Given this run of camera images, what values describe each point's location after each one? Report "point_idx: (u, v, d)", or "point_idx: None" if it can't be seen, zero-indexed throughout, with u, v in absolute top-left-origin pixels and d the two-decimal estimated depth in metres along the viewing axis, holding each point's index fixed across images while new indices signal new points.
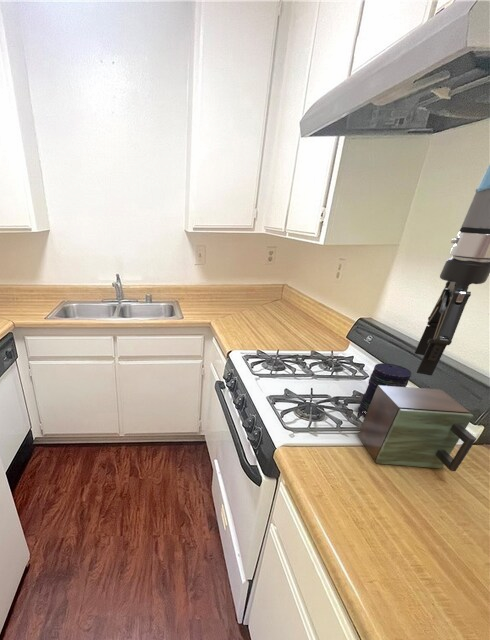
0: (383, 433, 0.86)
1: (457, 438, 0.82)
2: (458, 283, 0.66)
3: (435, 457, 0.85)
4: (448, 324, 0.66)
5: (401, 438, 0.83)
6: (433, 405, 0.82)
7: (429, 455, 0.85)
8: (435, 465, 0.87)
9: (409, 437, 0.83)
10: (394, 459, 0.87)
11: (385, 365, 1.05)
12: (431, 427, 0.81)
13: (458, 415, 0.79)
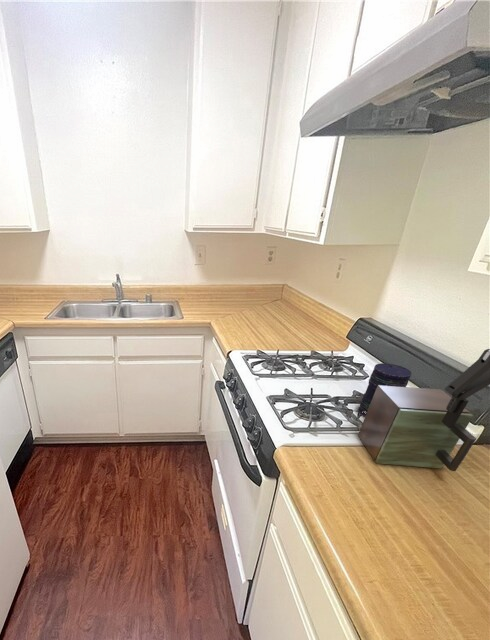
0: (383, 433, 0.86)
1: (457, 438, 0.82)
2: None
3: (435, 457, 0.85)
4: (462, 377, 0.68)
5: (401, 438, 0.83)
6: (433, 405, 0.82)
7: (429, 455, 0.85)
8: (435, 465, 0.87)
9: (409, 437, 0.83)
10: (394, 459, 0.87)
11: (385, 365, 1.05)
12: (431, 427, 0.81)
13: None
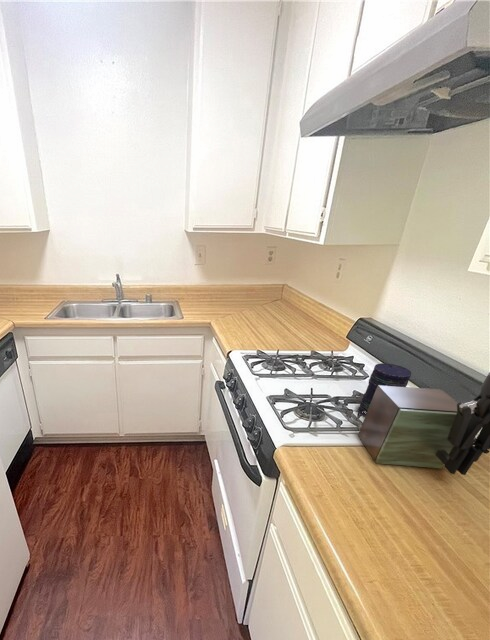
0: (383, 433, 0.86)
1: None
2: (481, 391, 0.69)
3: (435, 457, 0.85)
4: (454, 429, 0.74)
5: (401, 438, 0.83)
6: (433, 405, 0.82)
7: (429, 455, 0.85)
8: (435, 465, 0.87)
9: (409, 437, 0.83)
10: (394, 459, 0.87)
11: (385, 365, 1.05)
12: (431, 427, 0.81)
13: None
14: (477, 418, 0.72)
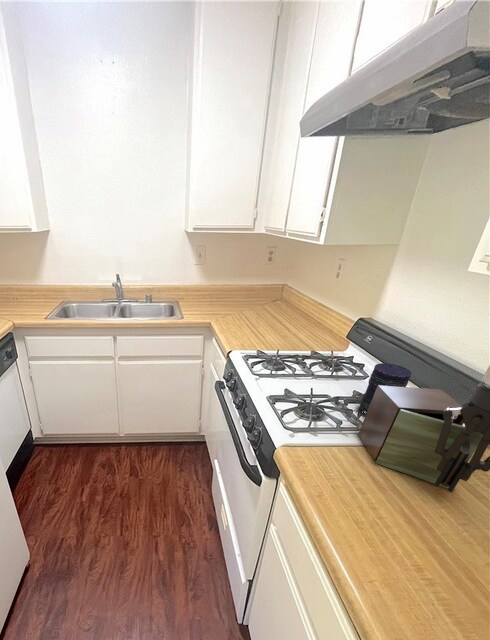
0: (383, 433, 0.86)
1: None
2: None
3: None
4: None
5: (401, 441, 0.82)
6: (433, 405, 0.82)
7: (434, 469, 0.81)
8: None
9: (410, 442, 0.81)
10: (394, 463, 0.85)
11: (385, 365, 1.05)
12: (434, 436, 0.78)
13: None
14: (464, 428, 0.68)
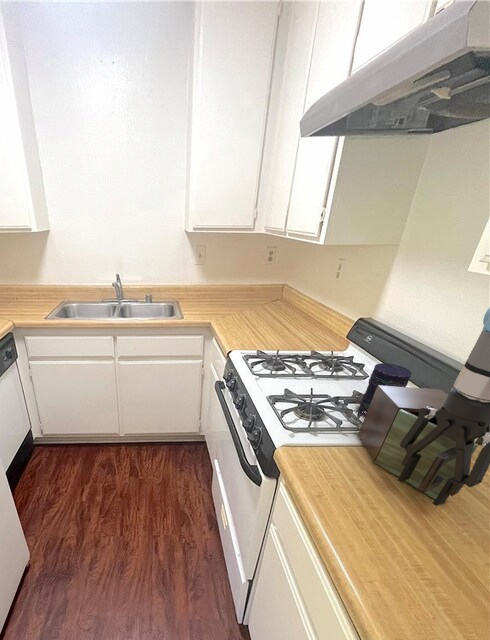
0: (383, 433, 0.86)
1: None
2: None
3: None
4: None
5: (398, 443, 0.82)
6: (433, 405, 0.82)
7: None
8: (432, 494, 0.78)
9: None
10: (391, 466, 0.85)
11: (385, 365, 1.05)
12: None
13: None
14: None
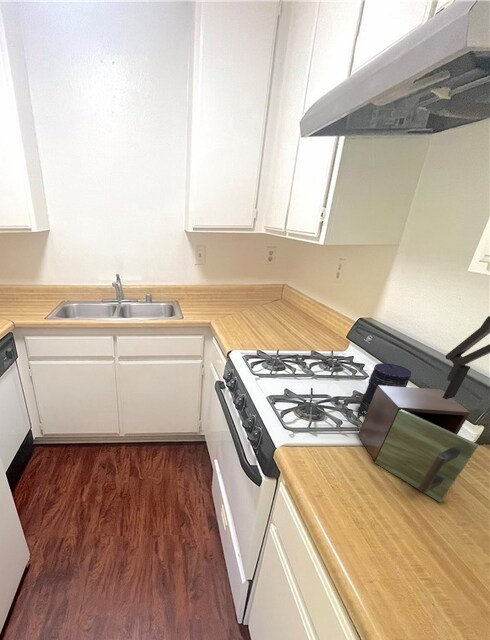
0: (383, 433, 0.86)
1: (457, 469, 0.72)
2: None
3: None
4: None
5: (398, 443, 0.82)
6: (433, 405, 0.82)
7: None
8: (432, 494, 0.78)
9: (406, 445, 0.80)
10: (391, 466, 0.85)
11: (385, 365, 1.05)
12: (428, 442, 0.76)
13: (458, 438, 0.71)
14: None
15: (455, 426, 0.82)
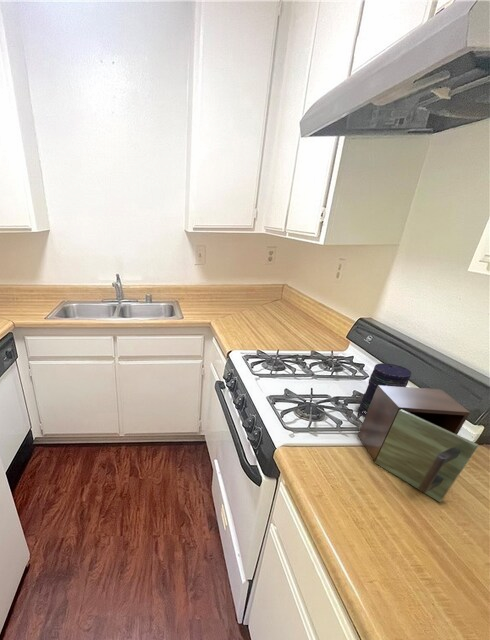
0: (383, 433, 0.86)
1: (457, 469, 0.72)
2: None
3: None
4: None
5: (398, 443, 0.82)
6: (433, 405, 0.82)
7: None
8: (432, 494, 0.78)
9: (406, 445, 0.80)
10: (391, 466, 0.85)
11: (385, 365, 1.05)
12: (428, 442, 0.76)
13: (458, 438, 0.71)
14: None
15: (455, 426, 0.82)
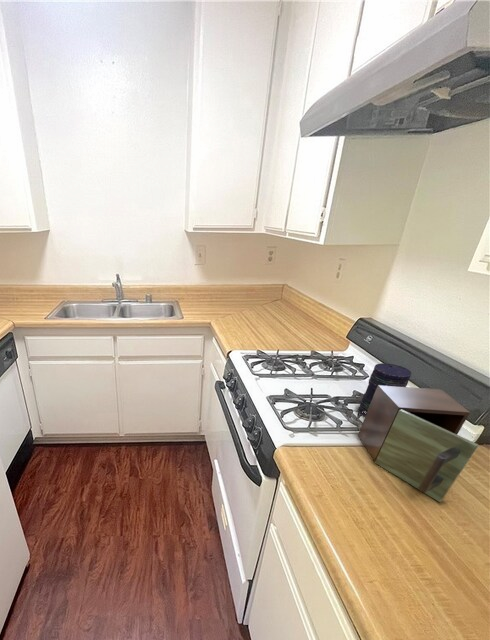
0: (383, 433, 0.86)
1: (457, 469, 0.72)
2: None
3: None
4: None
5: (398, 443, 0.82)
6: (433, 405, 0.82)
7: None
8: (432, 494, 0.78)
9: (406, 445, 0.80)
10: (391, 466, 0.85)
11: (385, 365, 1.05)
12: (428, 442, 0.76)
13: (458, 438, 0.71)
14: None
15: (455, 426, 0.82)
